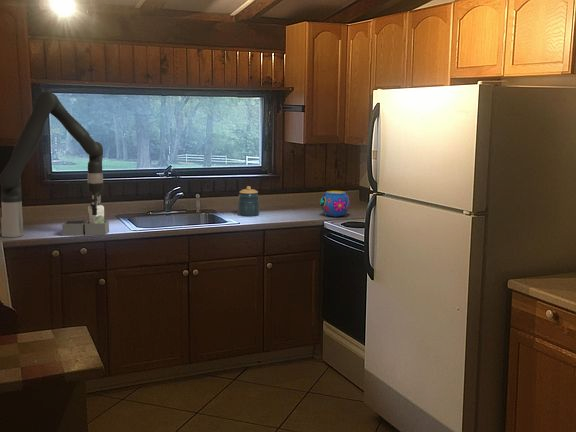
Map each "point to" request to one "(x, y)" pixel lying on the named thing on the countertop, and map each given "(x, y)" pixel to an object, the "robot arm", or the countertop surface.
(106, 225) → the bin
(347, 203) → the ceramic pot
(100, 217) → the syrup box
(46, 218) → the countertop surface
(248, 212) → the canister
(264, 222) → the countertop surface
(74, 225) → the bin
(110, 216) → the countertop surface
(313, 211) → the countertop surface
